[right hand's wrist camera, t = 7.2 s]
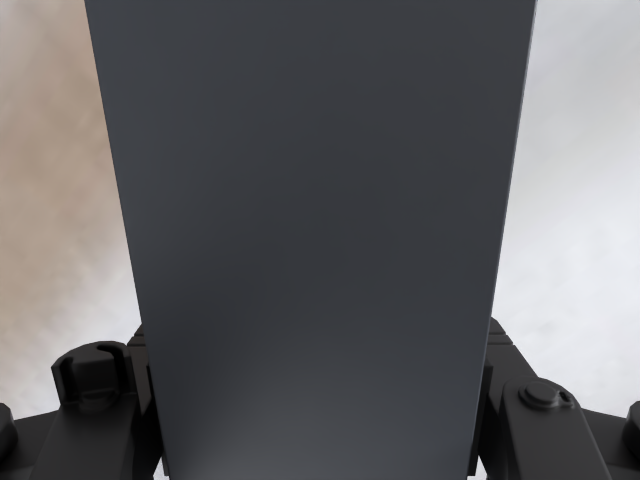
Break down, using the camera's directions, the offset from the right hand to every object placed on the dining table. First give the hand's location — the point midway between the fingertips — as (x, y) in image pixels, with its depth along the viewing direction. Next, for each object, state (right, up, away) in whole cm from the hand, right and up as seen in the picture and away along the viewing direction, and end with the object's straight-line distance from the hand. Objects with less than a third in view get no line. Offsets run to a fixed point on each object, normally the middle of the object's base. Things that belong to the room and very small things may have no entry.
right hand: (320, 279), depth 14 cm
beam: (0, +21, -7) cm, 23 cm away
